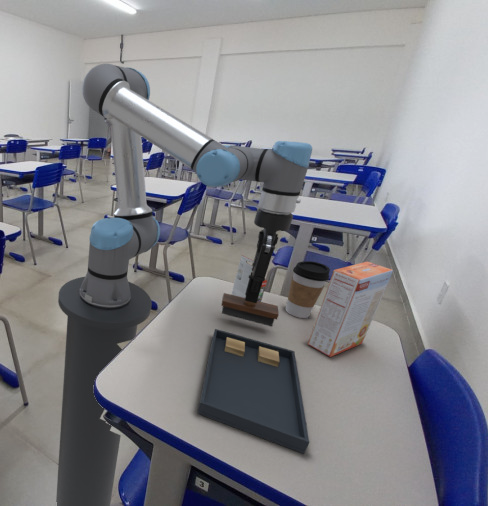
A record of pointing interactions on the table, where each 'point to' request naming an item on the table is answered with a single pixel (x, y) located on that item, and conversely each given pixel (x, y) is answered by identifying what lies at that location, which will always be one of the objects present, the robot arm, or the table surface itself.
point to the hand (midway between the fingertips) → (250, 298)
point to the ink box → (245, 279)
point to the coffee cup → (306, 287)
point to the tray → (255, 392)
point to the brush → (249, 309)
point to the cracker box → (349, 307)
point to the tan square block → (235, 346)
